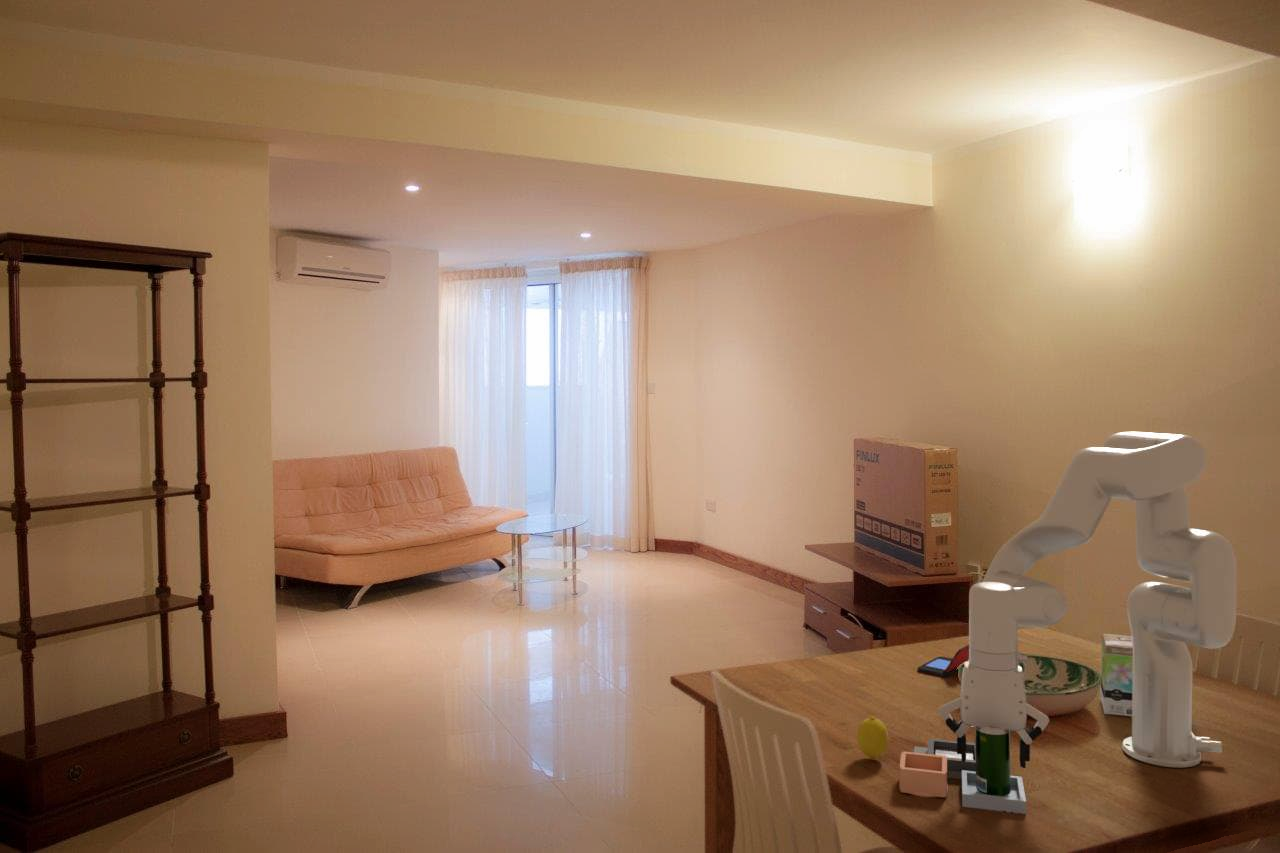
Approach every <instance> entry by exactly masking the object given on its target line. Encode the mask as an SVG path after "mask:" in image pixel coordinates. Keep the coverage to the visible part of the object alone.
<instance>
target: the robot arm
mask: <svg viewBox="0 0 1280 853" xmlns="http://www.w3.org/2000/svg"><path fill="white" fill-rule="evenodd" d="M1206 452H1207V451H1206V449H1205V446H1204V445H1203V444H1202V443H1201V441H1199V440H1198V439H1197V438H1195V437H1193V436H1190V435H1188V434H1178V433H1177V434H1176V433H1159V432H1148V431H1147V432H1146V431H1122V432H1117V433H1114V434H1111V435H1110V436H1108V437H1107V439H1105V441H1104V444H1103V447H1102V446H1101V447H1099V446H1098V447H1097V446H1095V447H1094V446H1092V447H1091V446H1090V447H1085V448H1083V449H1080V450H1079V451H1077V452H1076V453H1075V454H1074V456H1073V457H1072V459H1071V460H1070V461H1069V464H1068V465H1067V467H1066V468H1065V470H1064V473H1063V475H1062V476H1061V478H1060V481H1059V482H1058V484H1057V487H1056V488H1055V490H1054V493H1053V494H1052V496H1051V498H1050V499H1049V502H1048V503H1047V506H1046V508H1045V509H1044V511H1043V512H1042V514H1041V515H1040V517H1038V519H1036V520H1034V521H1033V522H1031V523H1030V524H1028V525H1026V526H1025V527H1024V528H1022V529H1020V531H1019V532H1018V533H1016V534H1015V535H1013V536H1012V537H1011V538H1009V539H1008V540H1007V541H1006V542H1004V544H1002V546H1001V547H1000V548H999V550H998V551H997V552H996V554H995V556H994V557H993V559H992V561H991V563H990V565H989V567H988V568H987V570H986V573H985V575H984V577H983V579H982V581H981V582H976V583H974V584H973V585H971V587H970V588H969V592H968V615H969V616H968V619H969V620H968V645H969V660H968V661H967V662H965V663H964V667H963V668H962V673H961V674H962V675H961V681H960V682H961V683H960V696H959V697H956V698H953V699H952V700H951V701H948V702H945V703H944V704H941V705H940V706H939V707H938V712H939V714H940V717H941V718H942V719H943V721H944V722H945V725H946V726H947V727H948V728H949V730H951V731H952V732H953V733H954V735H955V736H956V741H957V754H961V759H962V761H963V762H965V761H966V742H967V734H966V733H967V731H969V729H971V727H973V728H975V727H980V728H982V727H984V726H985V727H993V728H1002V729H1003V730H1010V731H1014V732H1016V733H1017V734H1018V735H1019V737H1020V738H1019V757H1018V758H1019V765H1020V767H1021V768H1022V769H1026V762H1030V761H1031V760H1030V759H1031V754H1030V753H1031V744H1032V743H1033V741H1034V740H1035V739H1037V738H1039V736H1041V734H1042V733H1043V732H1044V730H1045V728H1046V727H1047V726H1048V725H1049V723H1050V718H1049V716H1048V715H1047V714H1046V713H1044V712H1042V711H1040V710H1039V709H1037V708H1035V706H1032V705H1031V704H1029V703H1028V702H1027V699H1026V698H1027V696H1026V695H1027V694H1026V685H1025V675H1024V671H1023V668H1022V666H1020V664H1021V663H1028V653H1023V652H1020V650H1018V647H1019V646H1018V644H1019V642H1018V641H1019V632H1018V629H1019V628H1022V627H1023V628H1048V627H1051V626H1054V625H1056V624H1057V623H1058V622H1060V621H1061V620H1062V619H1063V618H1064V617H1065V614H1066V612H1067V605H1068V604H1067V603H1068V602H1067V599H1066V596H1065V595H1064V594H1065V593H1063V591H1062V590H1061V589H1060V588H1058V587H1057V586H1056V585H1054V584H1052V583H1050V582H1047V581H1044V580H1039V579H1037V578H1036V579H1034V578H1032V577H1028V576H1025V575H1026V573H1027V572H1028V571H1029V569H1030V568H1031V567H1033V565H1034V564H1036V563H1037V562H1038V561H1040V560H1041V559H1043V558H1045V557H1048V556H1049V555H1053V554H1055V553H1058V552H1059V553H1060V552H1062V551H1066V550H1070V549H1074V548H1076V547H1080V546H1083V545H1085V544H1087V543H1088V542H1090V541H1091V540H1092V538H1093V537H1094V534H1095V532H1096V531H1097V529H1098V527H1099V524H1100V522H1101V520H1102V518H1103V517H1104V515H1105V513H1106V510H1107V509H1108V507H1109V505H1110V504H1111V501H1112V500H1113V499H1120V500H1126V501H1134V509H1135V554H1136V555H1135V556H1136V561H1137V564H1138V566H1139V567H1140V569H1142V570H1143V571H1144V572H1146V573H1148V574H1151V575H1154V576H1157V577H1160V578H1167V579H1170V580H1174V581H1175V580H1176V581H1180V582H1185V583H1189V584H1190V588H1189V587H1185V586H1181V585H1176V584H1171V583H1166V582H1161V581H1146V582H1141V583H1140V584H1138V585H1135V587H1134V588H1132V590H1131V591H1130V593H1129V595H1128V597H1127V602H1126V613H1127V614H1126V615H1127V618H1128V624H1129V627H1130V634H1131V636H1132V646H1133V676H1132V717H1131V736H1129V737H1126V738H1124V739H1123V740H1122V744H1121V747H1122V750H1123V751H1124V753H1125V754H1127V755H1128V756H1129V757H1131V758H1133V759H1135V760H1138V761H1139V762H1142V763H1146V764H1150V765H1154V766H1157V767H1166V768H1176V769H1178V768H1181V769H1183V768H1191V767H1194V766H1197V765H1198V764H1200V763H1201V761H1202V754H1201V753H1202V752H1203V751H1207V752H1210V753H1219V754H1220V753H1223V743H1222V741H1217V740H1211V737H1208V736H1196V735H1195V734H1194V732H1193V731H1192V726H1193V725H1192V723H1193V722H1192V716H1193V710H1192V709H1193V706H1192V705H1193V660H1192V657H1191V653H1190V650H1189V649H1188V646H1187V644H1188V645H1192V646H1194V647H1195V646H1196V647H1200V648H1205V649H1212V650H1213V649H1220V648H1222V647H1225V646H1226V645H1227V644H1228V643H1229V642H1230V641H1231V640H1232V637H1233V635H1234V632H1235V628H1236V623H1237V622H1236V621H1237V559H1236V555H1235V551H1234V549H1233V546H1232V545H1231V542H1230V541H1229V540H1228V539H1227V538H1226V537H1224V536H1223V535H1221V534H1220V533H1217V532H1215V531H1211V530H1205V529H1201V528H1200V529H1198V528H1193V527H1192V525H1191V523H1190V522H1191V521H1190V520H1191V519H1190V506H1189V504H1190V503H1189V497H1188V494H1187V490H1186V488H1185V487H1186V486H1189V485H1191V484H1192V483H1194V482H1195V481H1197V480H1198V479H1199V478H1200V477H1201V476H1202V474H1203V473H1204V471H1205V470H1206V469H1205V468H1206V466H1207V460H1208V458H1207V453H1206ZM959 708H960V709H959ZM958 709H959V710H960V711H959V712H960V718H961V719H960V721H958V722H957V720H955V719H954V717H952V715H951V712H954V711H956V710H958ZM1027 715H1028V716H1030V717H1031V718H1033V719H1035V720H1036V723H1035V724H1034V725H1032V727H1030V728H1027V726H1026V725H1027Z"/></svg>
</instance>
